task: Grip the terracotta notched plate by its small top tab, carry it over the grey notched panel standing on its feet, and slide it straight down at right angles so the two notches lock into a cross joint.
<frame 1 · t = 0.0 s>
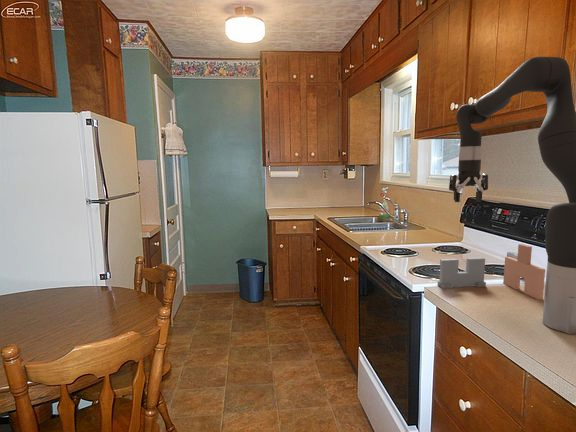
hand: (467, 201, 135), 29 cm above the table, tool pointing down, fingers open, 8 cm apart
grey notched panel: (461, 285, 128), on the table
terracotta plate: (521, 290, 121), on the table
medicine box: (517, 276, 138), on the table
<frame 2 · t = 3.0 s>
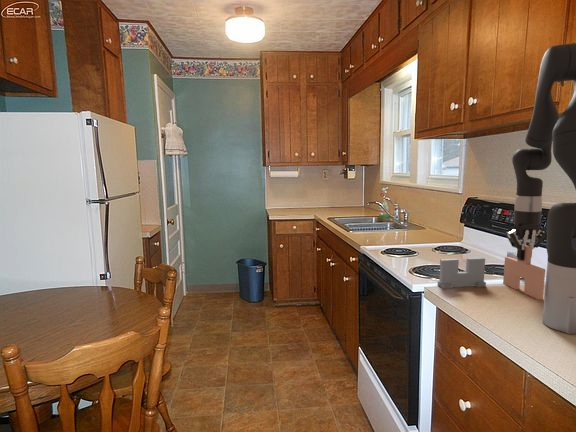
hand: (524, 259, 120), 11 cm above the table, tool pointing down, fingers closed on terracotta plate
terracotta plate: (521, 290, 121), on the table, touching gripper
everything else where it was.
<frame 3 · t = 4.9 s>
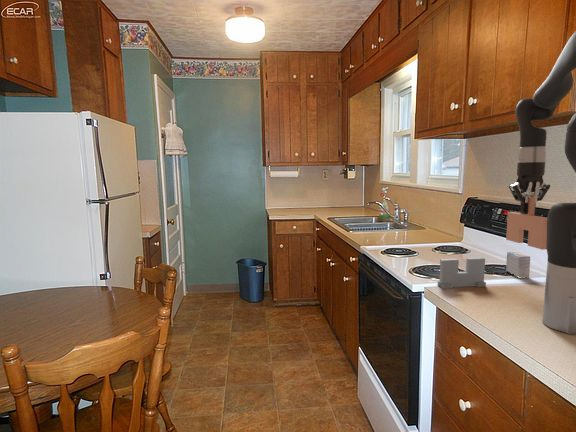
hand: (527, 213, 118), 27 cm above the table, tool pointing down, fingers closed on terracotta plate, 1 cm apart
terracotta plate: (525, 244, 119), point 16 cm above the table, touching gripper
everything else where it was.
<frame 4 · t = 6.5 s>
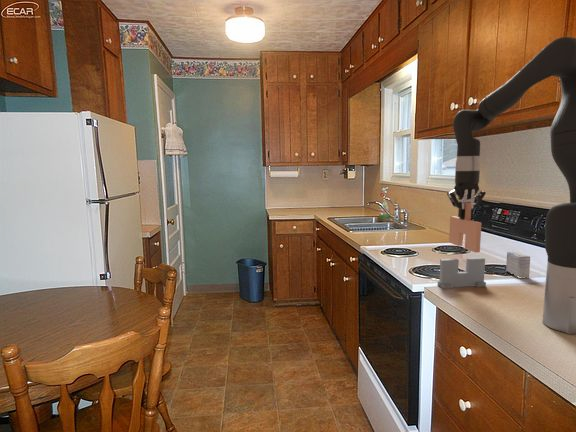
hand: (464, 219, 124), 24 cm above the table, tool pointing down, fingers closed on terracotta plate, 1 cm apart
terracotta plate: (463, 247, 126), point 14 cm above the table, touching gripper
everything else where it was.
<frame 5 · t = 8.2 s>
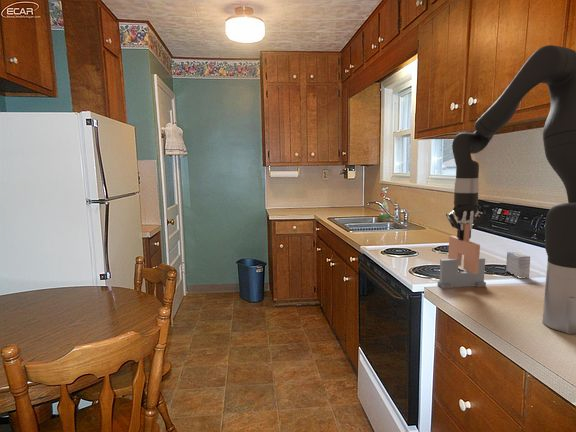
hand: (463, 239, 125), 17 cm above the table, tool pointing down, fingers closed on terracotta plate, 1 cm apart
terracotta plate: (462, 267, 127), point 7 cm above the table, touching gripper
everything else where it was.
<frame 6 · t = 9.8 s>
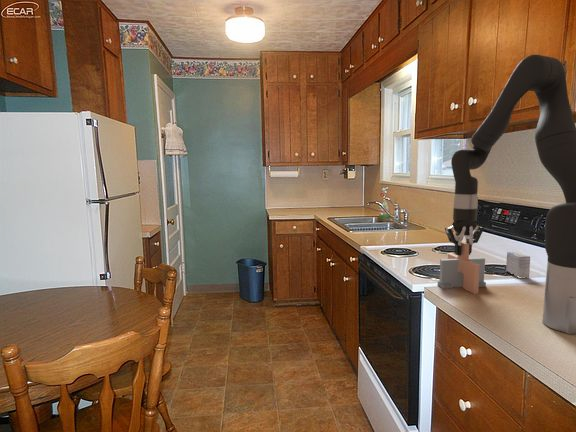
hand: (462, 254, 126), 12 cm above the table, tool pointing down, fingers open, 3 cm apart
terracotta plate: (461, 285, 127), on the table, touching grey notched panel
everything else where it was.
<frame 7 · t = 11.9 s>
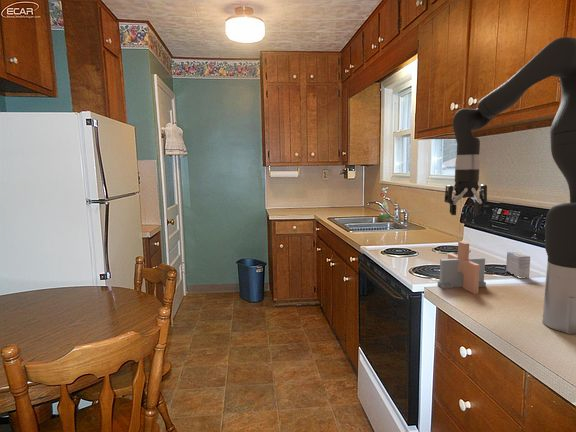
hand: (464, 214, 124), 26 cm above the table, tool pointing down, fingers open, 8 cm apart
nothing on the table moved.
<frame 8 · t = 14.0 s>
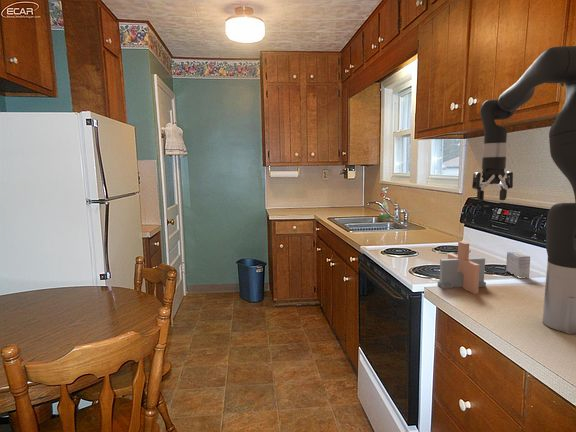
hand: (491, 200, 131), 30 cm above the table, tool pointing down, fingers open, 8 cm apart
nothing on the table moved.
at the end: terracotta plate 0.1 cm off-centre on the grey notched panel, point 0.0 cm above the grey notched panel's base; terracotta plate tilted 0°; the gripper is holding nothing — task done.
